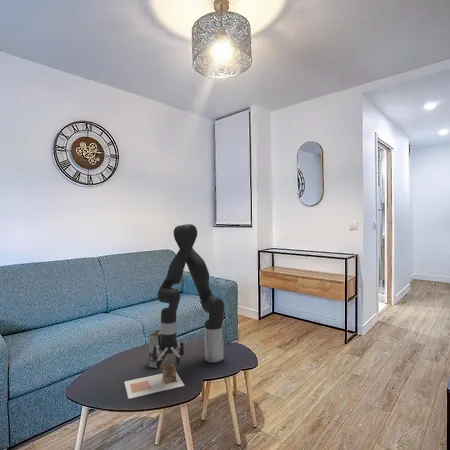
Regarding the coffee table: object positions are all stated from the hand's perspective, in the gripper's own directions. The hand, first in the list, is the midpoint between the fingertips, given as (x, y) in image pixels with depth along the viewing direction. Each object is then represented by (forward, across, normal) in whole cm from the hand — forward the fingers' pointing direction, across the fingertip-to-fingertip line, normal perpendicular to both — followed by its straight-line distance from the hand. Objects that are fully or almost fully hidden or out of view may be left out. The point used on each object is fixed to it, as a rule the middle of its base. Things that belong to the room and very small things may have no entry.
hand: (167, 366), depth 138 cm
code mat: (+7, +6, 0) cm, 9 cm away
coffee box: (+7, +1, -19) cm, 20 cm away
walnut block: (+6, -1, 0) cm, 6 cm away
